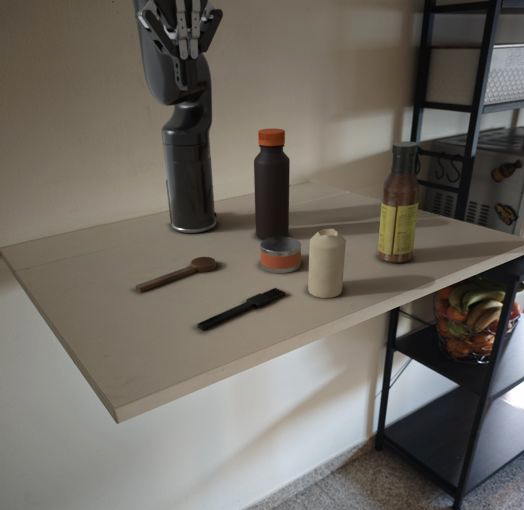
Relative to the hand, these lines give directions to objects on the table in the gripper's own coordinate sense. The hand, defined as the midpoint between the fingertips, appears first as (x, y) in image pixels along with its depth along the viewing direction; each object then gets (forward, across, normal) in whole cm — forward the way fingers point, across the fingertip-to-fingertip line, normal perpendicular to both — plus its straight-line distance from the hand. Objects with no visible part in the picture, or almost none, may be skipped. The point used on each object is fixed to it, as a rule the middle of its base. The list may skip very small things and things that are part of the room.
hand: (187, 89), depth 70 cm
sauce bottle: (+29, -30, +18) cm, 46 cm away
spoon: (+29, +3, -3) cm, 29 cm away
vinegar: (+29, -22, -6) cm, 37 cm away
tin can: (+29, -13, +6) cm, 32 cm away
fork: (+29, +2, +14) cm, 32 cm away
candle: (+29, -11, +18) cm, 36 cm away
